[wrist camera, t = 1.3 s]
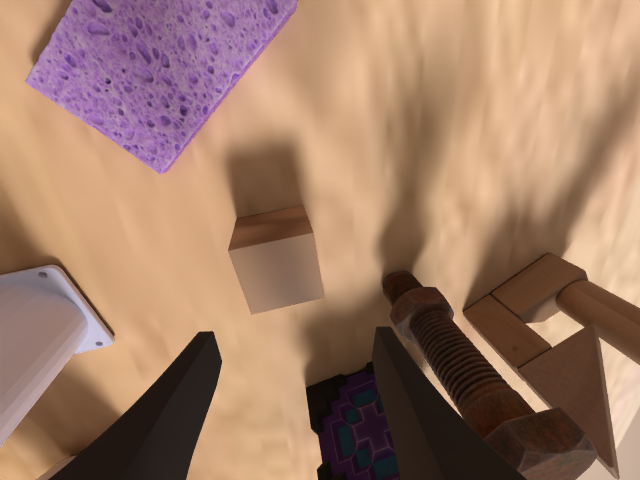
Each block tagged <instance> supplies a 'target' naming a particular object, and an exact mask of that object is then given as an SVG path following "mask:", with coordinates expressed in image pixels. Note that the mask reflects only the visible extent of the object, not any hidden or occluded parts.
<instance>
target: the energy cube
mask: <svg viewBox="0 0 640 480" xmlns="http://www.w3.org/2000/svg"><path fill="white" fill-rule="evenodd" d="M306 394H307V402H308V409H309V416H310V424H311V429H312V430H313V431H314V432H315V433H316V434H317V435H318V437H319V444H320V450H321V456H322V464H321V465H320V467H319V468H318V469H317V474H318V480H401V479H400V474H399V469H398V464H397V459H396V454H395V449H394V445H393V441H392V437H391V433H390V430H389V426H388V423H387V419H386V415H385V412H384V408H383V405H382V401H381V398H380V394H379V390H378V387H377V383H376V378H375V373H374V367H373V361H371V362H369V363H367V366H366V370H365V371H362V372H360V373H357V374H355V375H352V376H350V377H347V378H346V377H344V376H343V375H342V374H339V375H337V376H334V377H332V378H329V379H327V380H324V381H322V382H319V383H317V384H314V385H312V386H309V387H307V388H306Z"/></svg>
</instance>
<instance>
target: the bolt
mask: <svg viewBox="0 0 640 480" xmlns="http://www.w3.org/2000/svg"><path fill="white" fill-rule="evenodd" d="M384 282H385V283H384V285H383V286H385V287H383V292H384V294H385V295H386V297H387V299H388V300H389V302H390V303H391V305H392V307H393V308H392V310H391V313H390V318H391V320H392V321H393V323H394V325H395V326H396V328H397V329H398V331H399V332H400V333H401V335H402V336H403V337H404V339H405V340H406V341H407V342H410V343H416V344H417V346H418V347H419V349H420V351H421V353H422V354H423V355H424V357H425V359H426V360H427V362H428V363H429V366H430V367H431V368H432V370H433V371H434V374H435V375H436V376H437V378H438V380H439V381H440V383H441V384H442V386H443V387H444V389H445V390H446V391H447V393H448V395H449V396H450V399H451V400H452V401H453V402H454V405H455V406H456V407H457V409H458V411H459V412H460V414H461V416H462V418H463V419H464V420H465V422H466V423H467V424H468V425H469V426H470V427H471V428H472V429H473V430H474V431H475V432H476V433H477V434H478V435H479V436H480V437H481V438H482V439H484V440H485V441H486V442H487V443H488V444H489V445H490V446H491V447H492V448H493V449H494V450H495V451H496V452H497V453H498V454H499V455H501V456H502V457H503V458H504V459H505V460H506V461H507V462H508V463H509V464H510V465H511V466H513V467H514V468H515V469H516V470H517V471H518V472H519V473H520V474H522V475H523V476H524V477H525V478H526V479H527V480H576V479H577V478H578V477H579V476H580V475H581V474H582V473H584V472H585V471H586V470H587V469H588V468H589V467H590V466H591V465H592V463H593V462H594V461H595V459H596V458H597V451H596V449H595V447H594V445H593V444H592V442H591V441H590V439H589V438H588V436H587V435H586V433H585V432H584V431H583V430H582V429H581V428H580V427H579V426H578V425H577V424H576V423H575V422H574V421H573V420H572V419H571V418H570V417H569V416H568V415H567V414H566V413H565V412H564V410H563V409H562V408H561V407H556V408H553V409H549V410H545V411H541V412H537V413H536V412H535V411H534V410H533V409H532V408H531V407H530V406H529V405H528V403H527V402H526V401H525V400H524V399H523V398H522V397H521V396H520V394H519V393H518V392H517V391H515V390H513V389H512V388H511V387H510V385H508V384H507V382H506V381H505V380H504V379H503V378H502V376H501V375H500V374H498V372H497V371H496V370H495V368H493V366H492V365H491V364H490V363H489V362H488V361H487V359H485V357H484V356H483V355H482V354H481V353H480V351H479V350H478V349H477V348H476V347H475V346H474V345H473V343H472V342H471V341H470V340H469V339H468V338H467V337H466V335H465V334H463V332H462V331H461V330H460V329H459V327H458V326H457V325H456V324H455V323H454V321H453V320H452V319H453V316H454V312H453V310H452V308H451V306H450V305H449V303H448V302H447V300H446V299H445V297H444V296H443V295H442V294H441V293H440V292H439V290H438V289H437V288H436V287H423V286H422V285H421V284H420V283H419V282H418V281H417V279H416V278H415V277H414V276H413V275H412V274H410V273H409V272H406V271H401V272H397V273H394V274H392V275H390V276H388V277H387V278H386V280H385V281H384Z"/></svg>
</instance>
